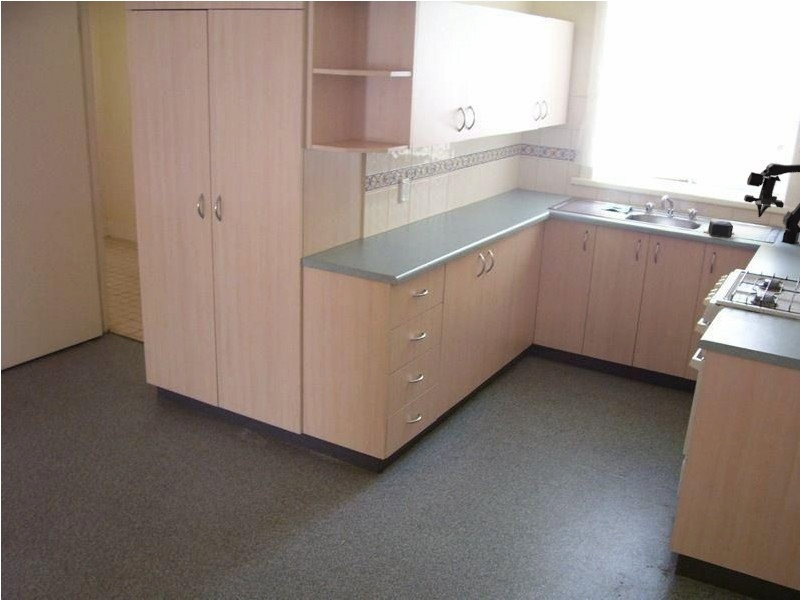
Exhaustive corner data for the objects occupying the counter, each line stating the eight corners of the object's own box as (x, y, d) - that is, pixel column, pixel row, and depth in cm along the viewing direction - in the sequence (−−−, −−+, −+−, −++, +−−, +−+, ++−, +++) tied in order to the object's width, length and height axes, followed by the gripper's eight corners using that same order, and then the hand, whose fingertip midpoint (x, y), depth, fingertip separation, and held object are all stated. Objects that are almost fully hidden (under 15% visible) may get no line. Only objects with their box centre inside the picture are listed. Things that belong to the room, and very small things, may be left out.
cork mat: (734, 233, 427) (734, 232, 427) (722, 236, 419) (722, 235, 419) (715, 229, 435) (715, 228, 435) (703, 232, 427) (703, 231, 427)
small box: (733, 225, 413) (712, 224, 415) (731, 237, 415) (710, 236, 417) (729, 221, 423) (709, 220, 425) (728, 233, 425) (707, 231, 427)
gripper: (750, 187, 402) (742, 217, 408) (789, 194, 398) (780, 224, 404) (748, 183, 413) (739, 212, 418) (785, 190, 409) (776, 219, 414)
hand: (759, 217), depth 413 cm, fingers closed
